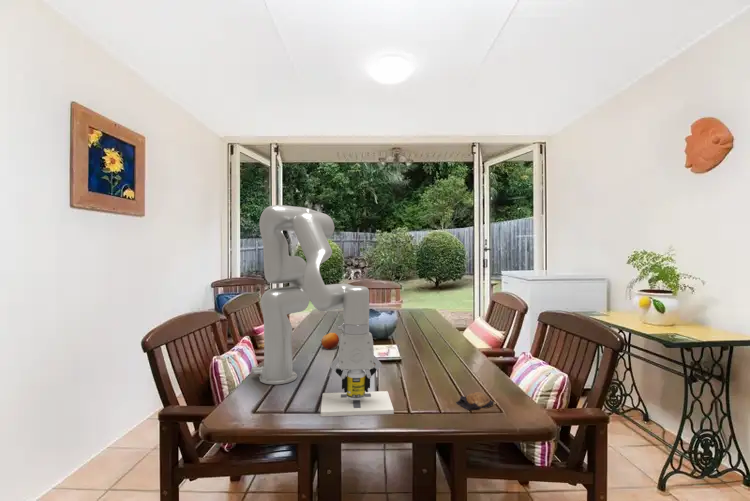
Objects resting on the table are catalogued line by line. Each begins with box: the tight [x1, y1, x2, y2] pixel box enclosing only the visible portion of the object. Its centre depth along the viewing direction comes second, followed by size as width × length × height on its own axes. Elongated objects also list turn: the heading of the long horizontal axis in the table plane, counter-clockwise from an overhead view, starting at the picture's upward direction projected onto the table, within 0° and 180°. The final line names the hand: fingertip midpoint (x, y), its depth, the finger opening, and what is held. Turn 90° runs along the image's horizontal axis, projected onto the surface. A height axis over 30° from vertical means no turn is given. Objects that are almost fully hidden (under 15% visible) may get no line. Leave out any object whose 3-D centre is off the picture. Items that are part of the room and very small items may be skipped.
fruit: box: [320, 332, 340, 350], centre depth 181 cm, size 8×8×8 cm
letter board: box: [320, 390, 395, 418], centre depth 117 cm, size 20×14×1 cm
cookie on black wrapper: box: [455, 391, 497, 412], centre depth 118 cm, size 11×8×4 cm
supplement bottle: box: [346, 370, 366, 400], centre depth 117 cm, size 5×5×10 cm
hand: (355, 390), depth 117 cm, fingers closed on supplement bottle, 5 cm apart
